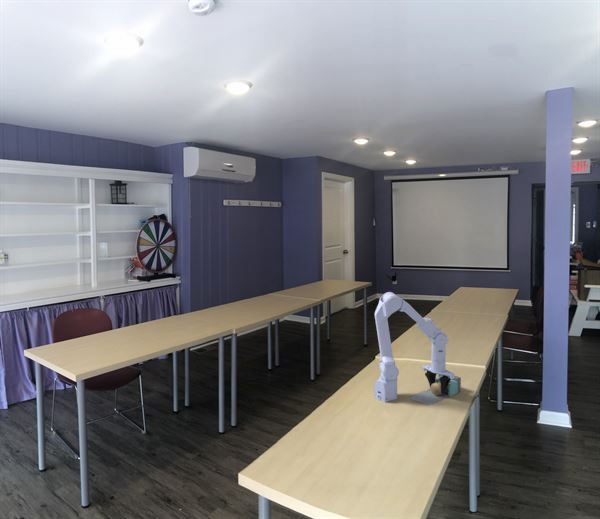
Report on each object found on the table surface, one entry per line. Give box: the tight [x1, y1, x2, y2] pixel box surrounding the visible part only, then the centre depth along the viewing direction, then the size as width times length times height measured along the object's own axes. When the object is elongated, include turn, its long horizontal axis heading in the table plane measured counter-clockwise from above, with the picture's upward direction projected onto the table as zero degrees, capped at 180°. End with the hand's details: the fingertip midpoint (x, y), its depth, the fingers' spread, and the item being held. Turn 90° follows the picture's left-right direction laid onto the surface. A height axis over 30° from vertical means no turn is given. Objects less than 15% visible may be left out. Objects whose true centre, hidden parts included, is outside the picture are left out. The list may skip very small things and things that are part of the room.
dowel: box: [429, 381, 451, 395], centre depth 190 cm, size 8×5×5 cm, turn 127°
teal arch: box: [435, 376, 458, 397], centre depth 192 cm, size 5×8×5 cm, turn 37°
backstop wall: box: [437, 374, 462, 393], centre depth 195 cm, size 3×9×6 cm, turn 37°
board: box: [408, 388, 450, 406], centre depth 188 cm, size 20×10×1 cm, turn 127°
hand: (438, 391), depth 188 cm, fingers closed on dowel, 5 cm apart
